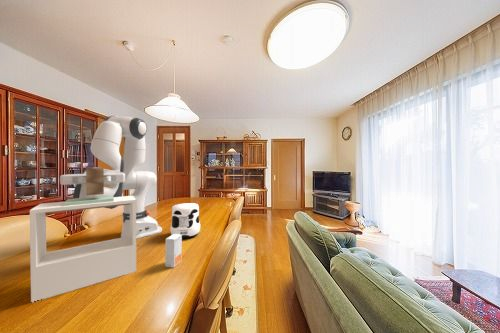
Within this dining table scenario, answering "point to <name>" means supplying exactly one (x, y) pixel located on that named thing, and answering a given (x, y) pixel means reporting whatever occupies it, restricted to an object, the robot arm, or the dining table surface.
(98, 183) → the walnut block
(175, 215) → the milk container
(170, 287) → the dining table surface
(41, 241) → the box
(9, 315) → the dining table surface
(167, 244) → the skincare box
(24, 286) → the dining table surface
